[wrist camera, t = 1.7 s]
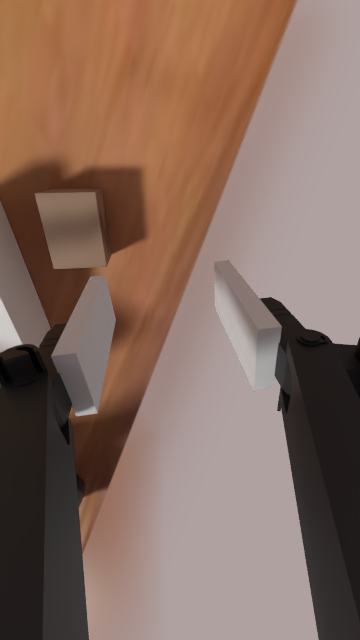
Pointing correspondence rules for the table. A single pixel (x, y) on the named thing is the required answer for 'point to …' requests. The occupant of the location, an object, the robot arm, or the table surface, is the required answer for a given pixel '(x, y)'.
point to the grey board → (17, 295)
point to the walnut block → (75, 227)
